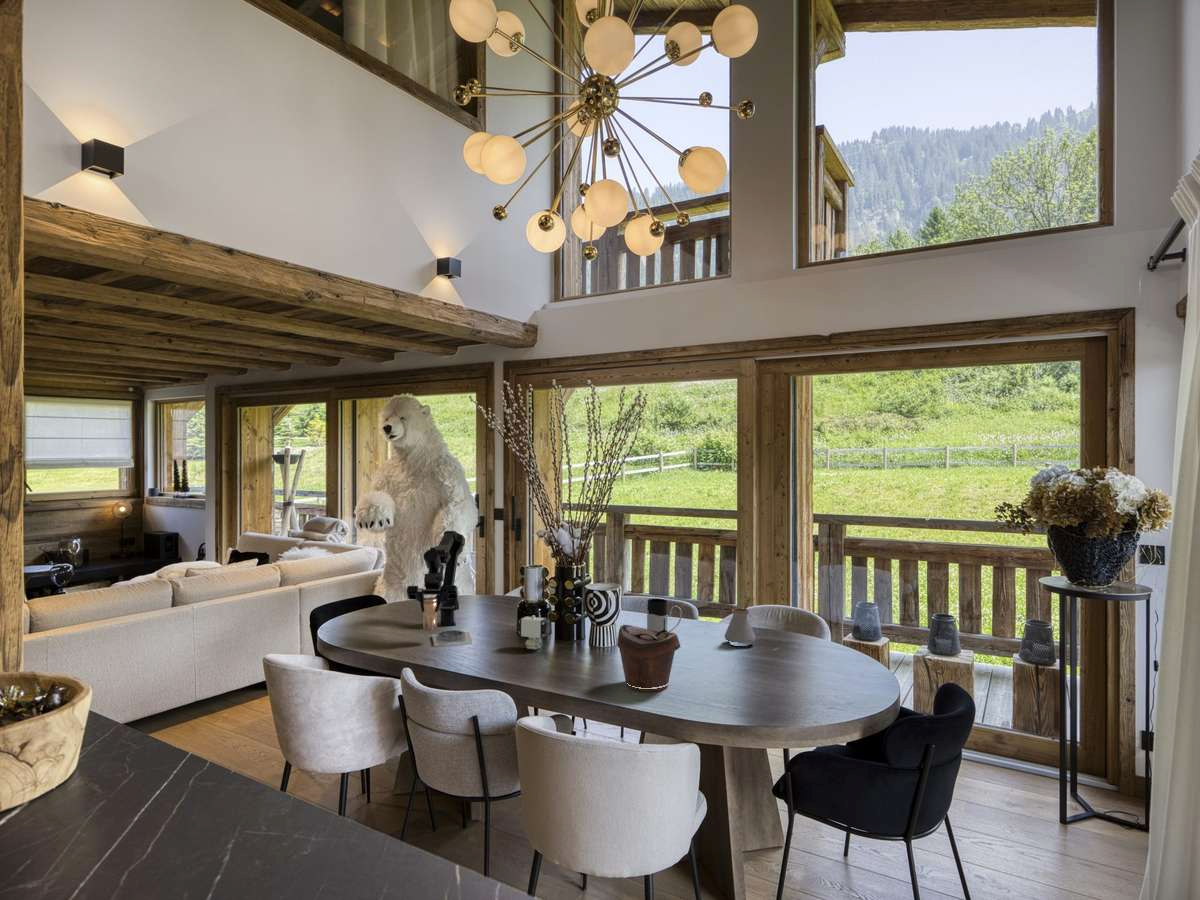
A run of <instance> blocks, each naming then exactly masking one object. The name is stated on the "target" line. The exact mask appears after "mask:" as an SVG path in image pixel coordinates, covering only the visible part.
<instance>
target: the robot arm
mask: <svg viewBox="0 0 1200 900" xmlns="http://www.w3.org/2000/svg"><path fill="white" fill-rule="evenodd" d="M465 545H466V539H465V537H464V535H463V534H460V533H458V532H457V531H456V530H445V531H444V532H443V536H442V537H441V540H440V541H439V543H438V545H436V546H434V547H430V548H429V549H428V550H426V551H425V552H424V553H423V561H424V564H425V566H426V568H427V569H428V571H427V572H428V573H424V575H423V576H424V579H423V583H424V584H423V586H424V587H423V588H422V587H419V586H418V585H408V586H407V587H406V595H407V598H408V599H409V600H416V601H417V602H418V603H419V604H420V608H421V609H420V610H421V613H423V599H425V595H427V596H429V595H430V596H435V595H436V596H435V597H434V598H437V608H436V612H437V613H439V611H440V614H439V617H440V618H439V620H440V621H438V625H439V626H440V627H445V626H447V627H448V626H456V620H455V611H458V610H459V609H460V601H459V599H458V598H459V590H458V586H457V584H456V585H455V580H456V574H457V573H456V572H457V567H458V566H457V565H458V559H459V555H460V554H462V552H463V550H464V547H465ZM444 564H445V566H444ZM444 569H445V570H444Z"/></svg>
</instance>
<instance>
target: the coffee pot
mask: <svg viewBox="0 0 1200 900" xmlns="http://www.w3.org/2000/svg"><path fill="white" fill-rule="evenodd" d="M750 600H751V601H750ZM751 602H753V600H752V598H751V597H748V598H747V599H746V602H745V603H744V606H743V608H740V607H739V608H738V607H737V608H732V609H731V612H732V617H731V619H730V622H729V625H728V627H727V628H726V631H725V634H724V639H725V640H728V641H731V642H738V643H749V642H753V641H754V642H755V641H756V638H757V637H756V634H755V633H754V630H753V627H752V625H751V623H750V620H749V618H748V615H749V613H750V610H749V609H748V606H749V603H751ZM754 642H753V643H754Z"/></svg>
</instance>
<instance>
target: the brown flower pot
mask: <svg viewBox="0 0 1200 900" xmlns="http://www.w3.org/2000/svg"><path fill="white" fill-rule="evenodd" d="M617 635H618V636H617V647H618V649H619V652H620V658H621V664H622V669H623V675H624V679H625V685H626V686H627V688H629V689H631V690H633V691H637V692H640V693H641V692H642V693H651V692H652V693H653V692H660V691H663V690H666V689H667V688H668V687H669V682H670V676H671V673H672V672H671V671H672V666H673V662H674V656H675V653H676V652H675V651H677V650H679V649H680V648H681V643H680V640H679V637H678V635H677V634H676V633H675V632H669V630H667V631H666V630H662V631H660V632H657V631H652V630H648V629H647V628H645V627H644V628H643V627H638V626H634V625H632V624H631V625H630V624H622V625H621V626H620V628H619V629H618V633H617ZM627 683H628V684H629V685H631V686H629V685H628V684H627ZM667 683H668V685H667V686H665V687H662V688H657V689H639V688H635V687H641V688H652V687H659V686H663V685H666V684H667ZM632 686H635V687H632Z"/></svg>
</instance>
